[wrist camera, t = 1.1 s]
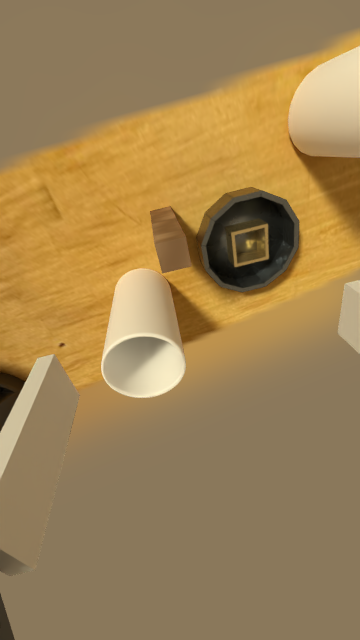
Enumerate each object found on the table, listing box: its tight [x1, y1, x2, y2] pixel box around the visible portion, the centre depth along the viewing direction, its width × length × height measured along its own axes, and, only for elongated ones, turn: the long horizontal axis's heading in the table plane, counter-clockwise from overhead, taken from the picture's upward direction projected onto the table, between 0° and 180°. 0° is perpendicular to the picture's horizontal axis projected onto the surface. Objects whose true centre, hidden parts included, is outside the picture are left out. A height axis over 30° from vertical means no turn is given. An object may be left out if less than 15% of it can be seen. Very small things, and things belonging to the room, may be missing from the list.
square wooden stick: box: [150, 207, 192, 273], centre depth 28 cm, size 3×3×14 cm
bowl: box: [196, 187, 299, 292], centre depth 35 cm, size 12×12×4 cm
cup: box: [101, 268, 186, 398], centre depth 33 cm, size 8×8×16 cm
